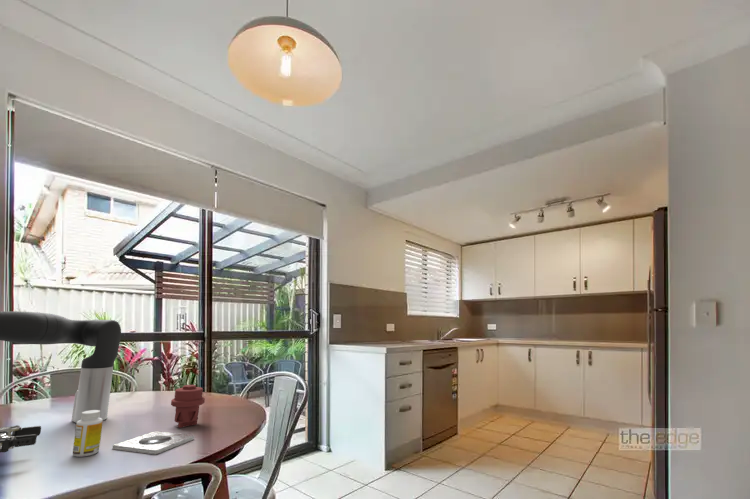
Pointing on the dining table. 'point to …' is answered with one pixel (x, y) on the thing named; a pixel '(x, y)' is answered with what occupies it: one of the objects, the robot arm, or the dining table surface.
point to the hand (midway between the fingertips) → (38, 434)
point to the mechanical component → (187, 405)
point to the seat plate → (153, 442)
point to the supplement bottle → (88, 434)
